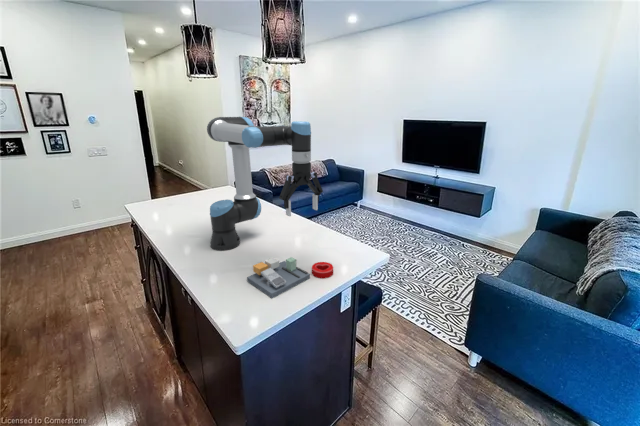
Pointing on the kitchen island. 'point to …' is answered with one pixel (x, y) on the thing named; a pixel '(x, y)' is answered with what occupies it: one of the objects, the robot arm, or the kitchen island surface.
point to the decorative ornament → (322, 270)
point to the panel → (289, 276)
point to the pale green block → (291, 264)
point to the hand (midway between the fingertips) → (302, 212)
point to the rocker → (273, 277)
